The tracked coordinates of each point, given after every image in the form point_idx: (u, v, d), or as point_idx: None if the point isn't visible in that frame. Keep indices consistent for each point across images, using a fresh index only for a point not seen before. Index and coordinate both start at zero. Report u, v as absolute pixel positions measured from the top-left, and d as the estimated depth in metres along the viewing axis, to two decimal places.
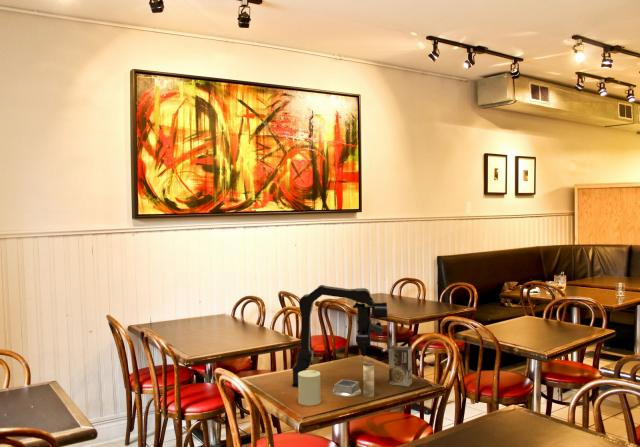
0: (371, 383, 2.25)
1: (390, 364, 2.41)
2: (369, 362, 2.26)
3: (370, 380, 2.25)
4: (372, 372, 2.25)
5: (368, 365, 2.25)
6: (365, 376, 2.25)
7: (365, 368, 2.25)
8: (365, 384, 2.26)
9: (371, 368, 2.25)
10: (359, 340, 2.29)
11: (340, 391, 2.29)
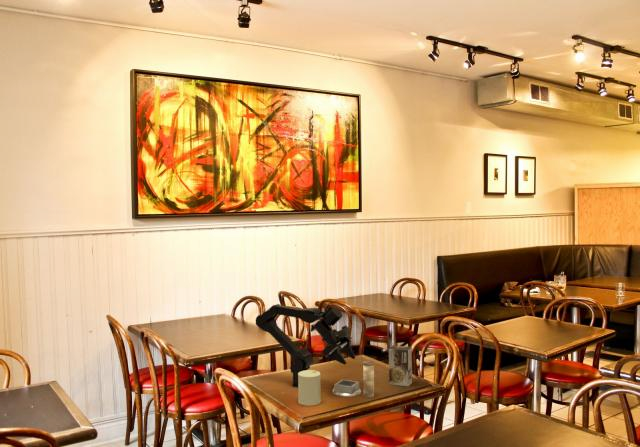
0: (371, 383, 2.25)
1: (390, 364, 2.41)
2: (369, 362, 2.26)
3: (370, 380, 2.25)
4: (372, 372, 2.25)
5: (368, 365, 2.25)
6: (365, 376, 2.25)
7: (365, 368, 2.25)
8: (365, 384, 2.26)
9: (371, 368, 2.25)
10: (326, 353, 2.25)
11: (340, 391, 2.29)
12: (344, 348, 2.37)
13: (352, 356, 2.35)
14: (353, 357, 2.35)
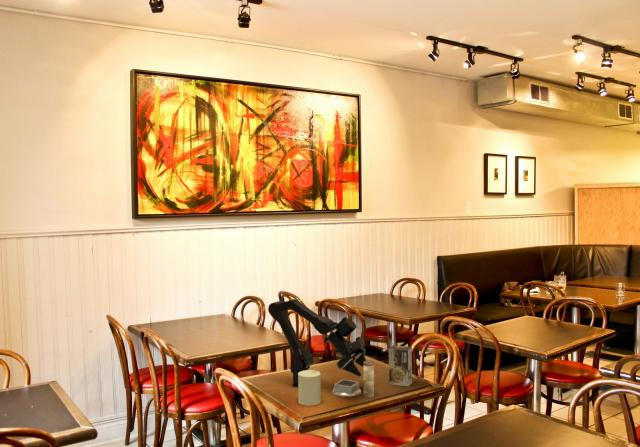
0: (371, 383, 2.25)
1: (390, 364, 2.41)
2: (369, 362, 2.26)
3: (370, 380, 2.25)
4: (372, 372, 2.25)
5: (368, 365, 2.25)
6: (365, 376, 2.25)
7: (365, 368, 2.25)
8: (365, 384, 2.26)
9: (371, 368, 2.25)
10: (340, 366, 2.22)
11: (340, 391, 2.29)
12: (358, 359, 2.34)
13: None
14: None
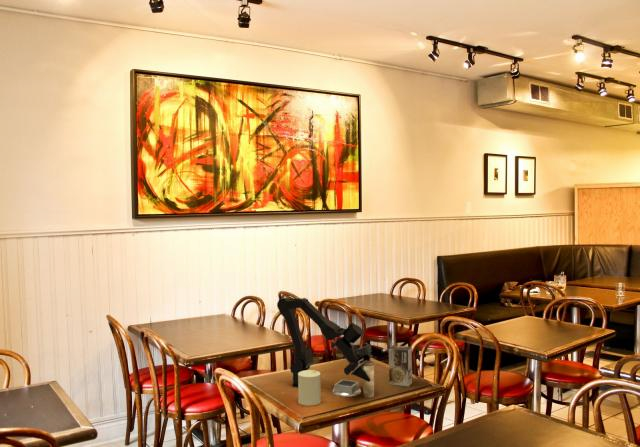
0: (371, 383, 2.25)
1: (390, 364, 2.41)
2: (369, 362, 2.26)
3: (370, 380, 2.25)
4: (372, 372, 2.25)
5: (368, 365, 2.25)
6: None
7: (365, 368, 2.25)
8: (365, 384, 2.26)
9: (371, 368, 2.25)
10: (347, 372, 2.21)
11: (340, 391, 2.29)
12: None
13: None
14: None
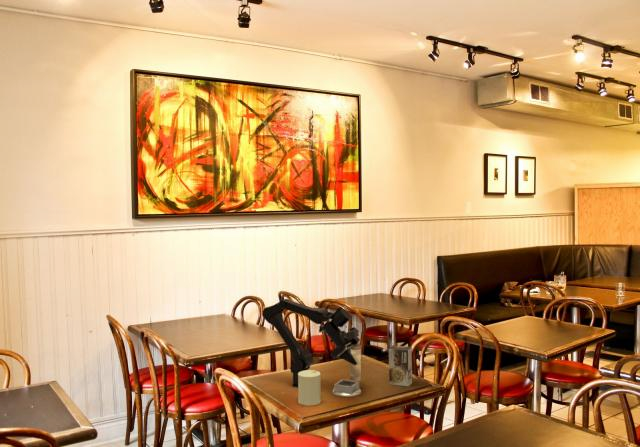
0: (358, 367, 2.28)
1: (390, 364, 2.41)
2: (356, 346, 2.29)
3: (357, 364, 2.27)
4: (359, 356, 2.28)
5: (355, 349, 2.27)
6: None
7: (352, 352, 2.28)
8: (352, 367, 2.28)
9: (358, 352, 2.27)
10: (334, 355, 2.23)
11: (340, 391, 2.29)
12: None
13: None
14: None
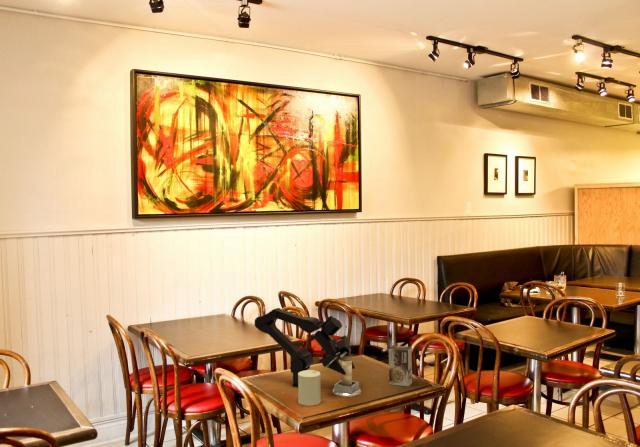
0: (349, 378, 2.30)
1: (390, 364, 2.41)
2: (347, 357, 2.31)
3: (348, 375, 2.29)
4: (350, 367, 2.30)
5: (346, 360, 2.29)
6: None
7: (343, 363, 2.30)
8: (343, 379, 2.30)
9: (349, 363, 2.29)
10: (325, 364, 2.25)
11: (340, 391, 2.29)
12: None
13: (352, 366, 2.35)
14: (353, 367, 2.35)
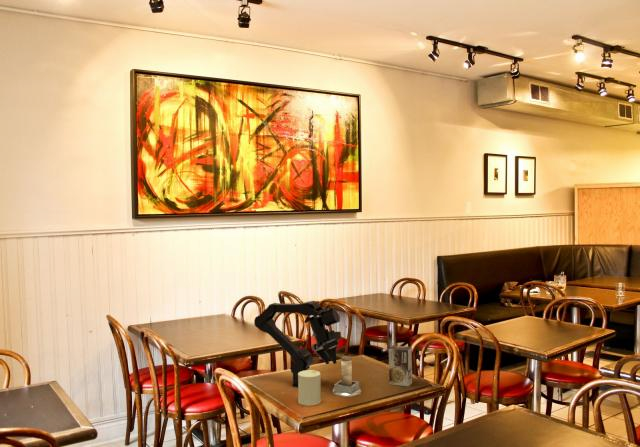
0: (349, 378, 2.30)
1: (390, 364, 2.41)
2: (347, 357, 2.31)
3: (348, 375, 2.29)
4: (350, 367, 2.30)
5: (346, 360, 2.29)
6: (343, 371, 2.30)
7: (343, 363, 2.30)
8: (343, 379, 2.30)
9: (349, 363, 2.30)
10: (329, 346, 2.28)
11: (340, 391, 2.29)
12: (321, 351, 2.41)
13: (327, 361, 2.40)
14: (327, 362, 2.40)
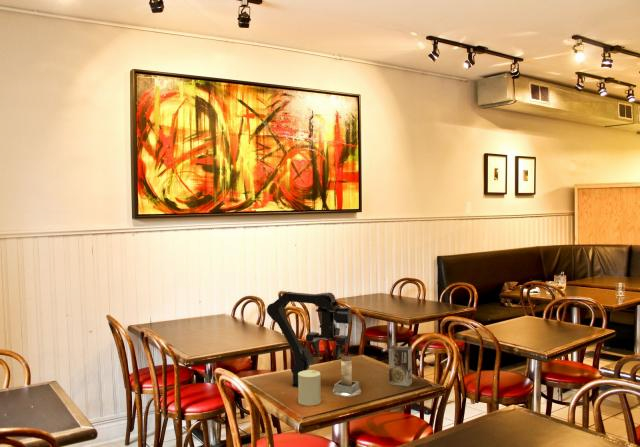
0: (349, 378, 2.30)
1: (390, 364, 2.41)
2: (347, 357, 2.31)
3: (348, 375, 2.29)
4: (350, 367, 2.30)
5: (346, 360, 2.29)
6: (343, 371, 2.30)
7: (343, 363, 2.30)
8: (343, 379, 2.30)
9: (349, 363, 2.30)
10: (345, 342, 2.31)
11: (340, 391, 2.29)
12: (316, 343, 2.38)
13: (318, 354, 2.39)
14: (318, 355, 2.39)
